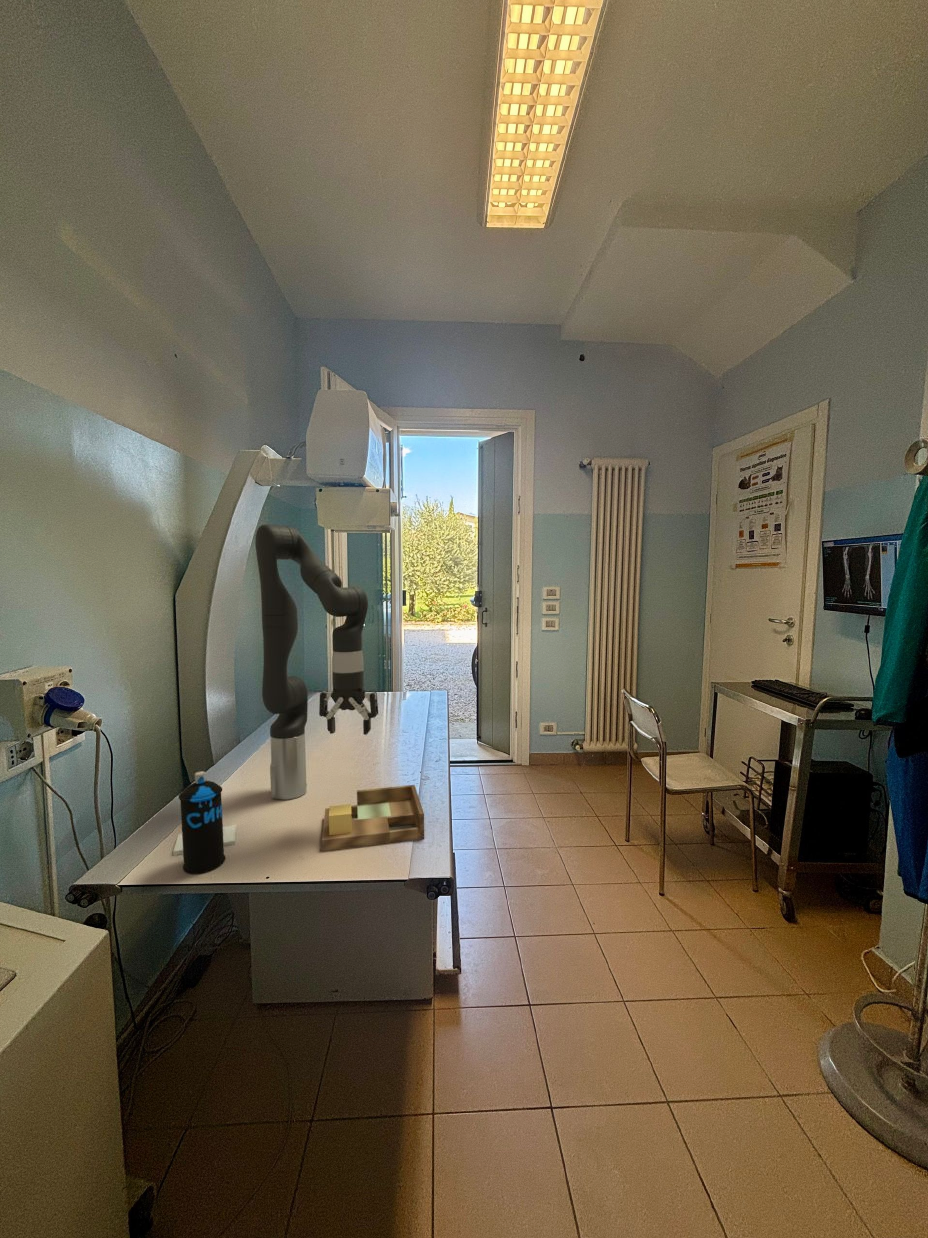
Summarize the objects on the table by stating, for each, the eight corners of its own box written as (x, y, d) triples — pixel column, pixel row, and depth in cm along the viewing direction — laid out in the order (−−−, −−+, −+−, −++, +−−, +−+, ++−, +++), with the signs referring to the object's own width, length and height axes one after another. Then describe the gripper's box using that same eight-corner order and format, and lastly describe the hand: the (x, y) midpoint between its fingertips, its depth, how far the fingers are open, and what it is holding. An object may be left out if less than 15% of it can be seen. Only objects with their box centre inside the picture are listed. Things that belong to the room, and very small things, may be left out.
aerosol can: (177, 863, 108) (172, 773, 106) (217, 849, 114) (213, 763, 112) (189, 879, 102) (184, 784, 101) (231, 863, 108) (227, 773, 106)
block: (329, 835, 115) (328, 816, 114) (330, 824, 120) (329, 806, 119) (351, 832, 116) (351, 813, 115) (351, 822, 121) (351, 804, 120)
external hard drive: (178, 840, 119) (236, 830, 123) (173, 858, 111) (235, 846, 116) (178, 833, 119) (236, 823, 123) (173, 851, 111) (234, 839, 116)
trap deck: (322, 851, 113) (321, 825, 112) (325, 816, 129) (324, 793, 129) (424, 838, 118) (424, 813, 117) (414, 806, 134) (414, 784, 134)
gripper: (313, 671, 120) (315, 737, 122) (372, 672, 119) (373, 739, 120) (325, 665, 128) (327, 728, 129) (380, 666, 126) (381, 729, 128)
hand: (349, 733), depth 125 cm, fingers open, 8 cm apart
